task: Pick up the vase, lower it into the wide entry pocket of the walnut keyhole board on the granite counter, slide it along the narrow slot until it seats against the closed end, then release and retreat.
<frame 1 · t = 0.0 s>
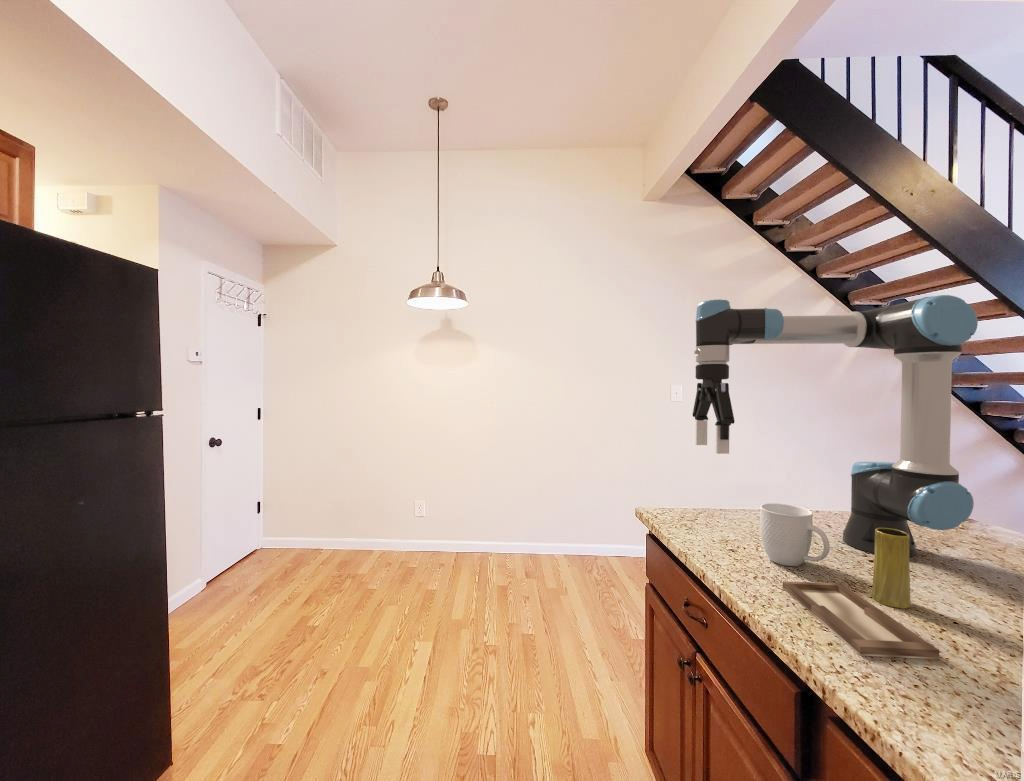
hand: (711, 449, 107), 28 cm above the countertop, fingers open, 13 cm apart
mug: (789, 563, 106), on the countertop
vase: (890, 602, 87), on the countertop
keyhole board: (849, 618, 81), on the countertop
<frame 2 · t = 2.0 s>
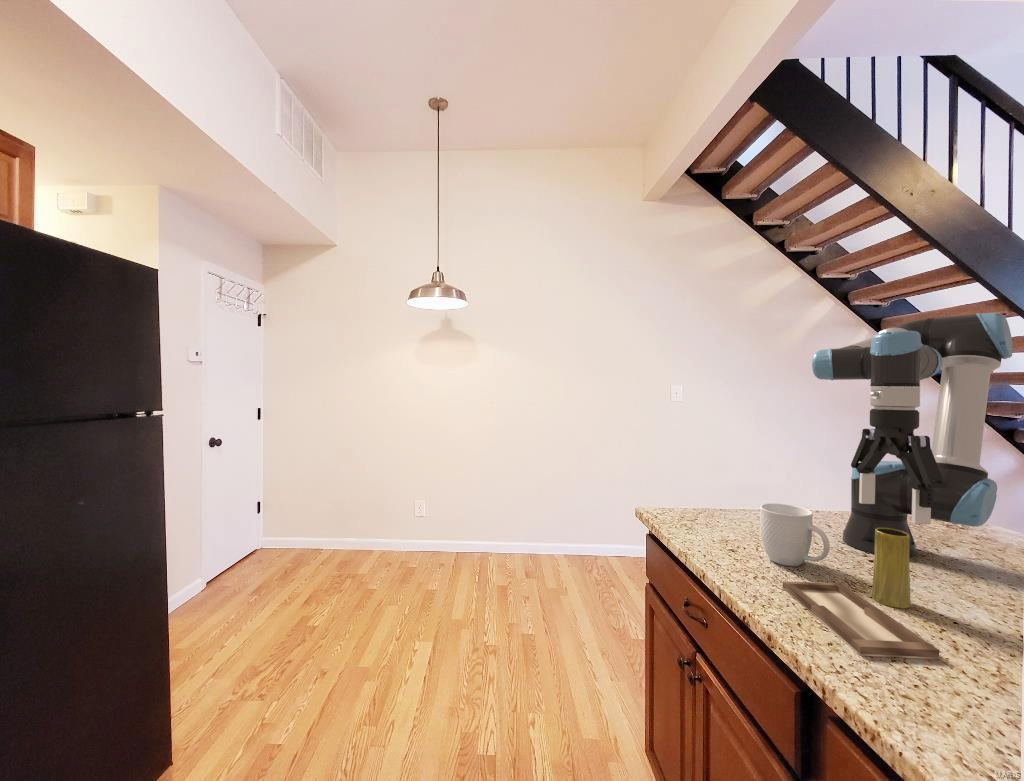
hand: (891, 512, 87), 18 cm above the countertop, fingers open, 13 cm apart
nothing on the countertop moved.
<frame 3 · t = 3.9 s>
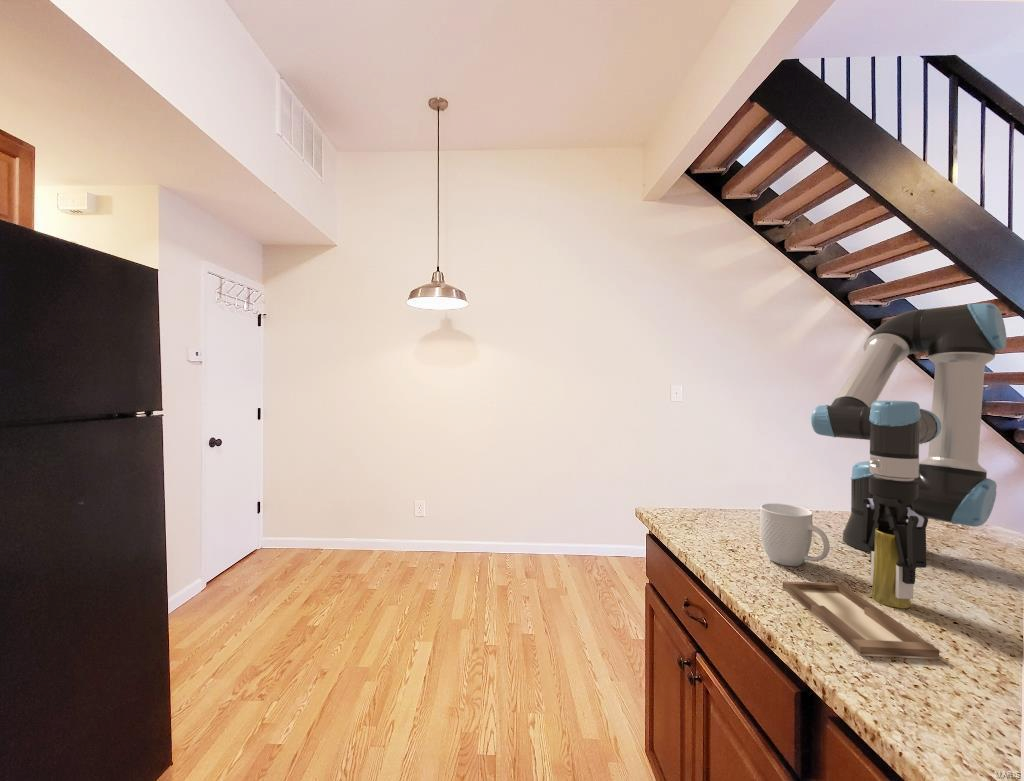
hand: (891, 589, 87), 2 cm above the countertop, fingers closed on vase, 6 cm apart
vase: (890, 602, 87), on the countertop, touching gripper
everything else where it was.
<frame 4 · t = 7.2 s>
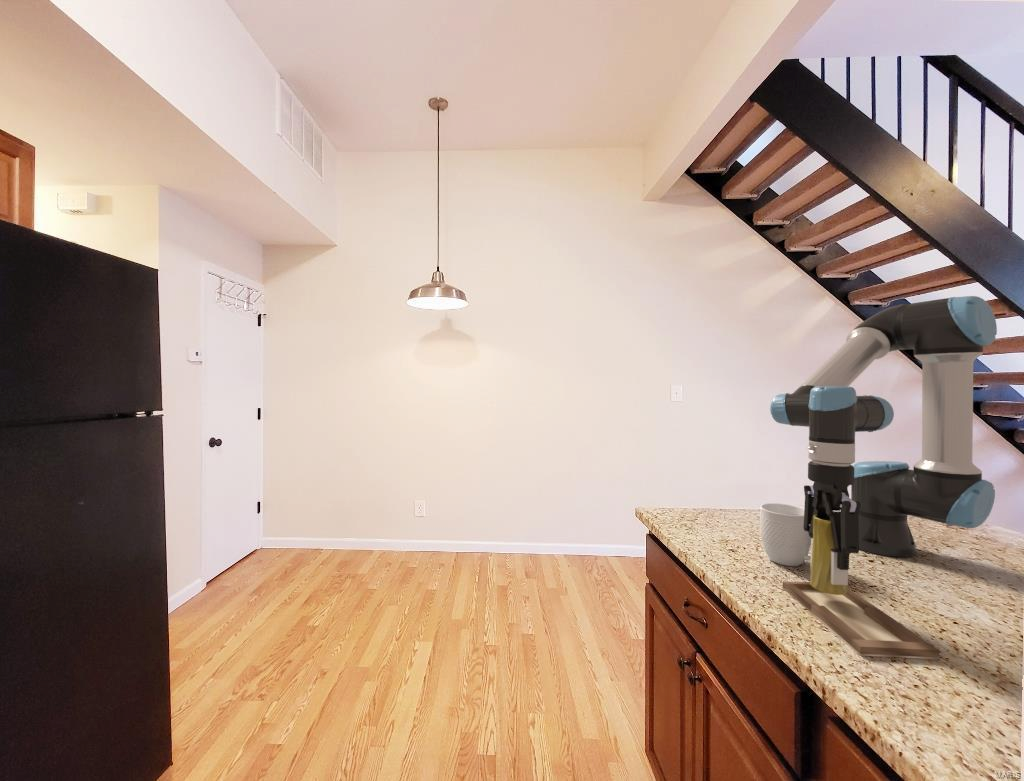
hand: (828, 576, 87), 5 cm above the countertop, fingers closed on vase, 6 cm apart
vase: (827, 588, 87), point 3 cm above the countertop, touching gripper
everything else where it was.
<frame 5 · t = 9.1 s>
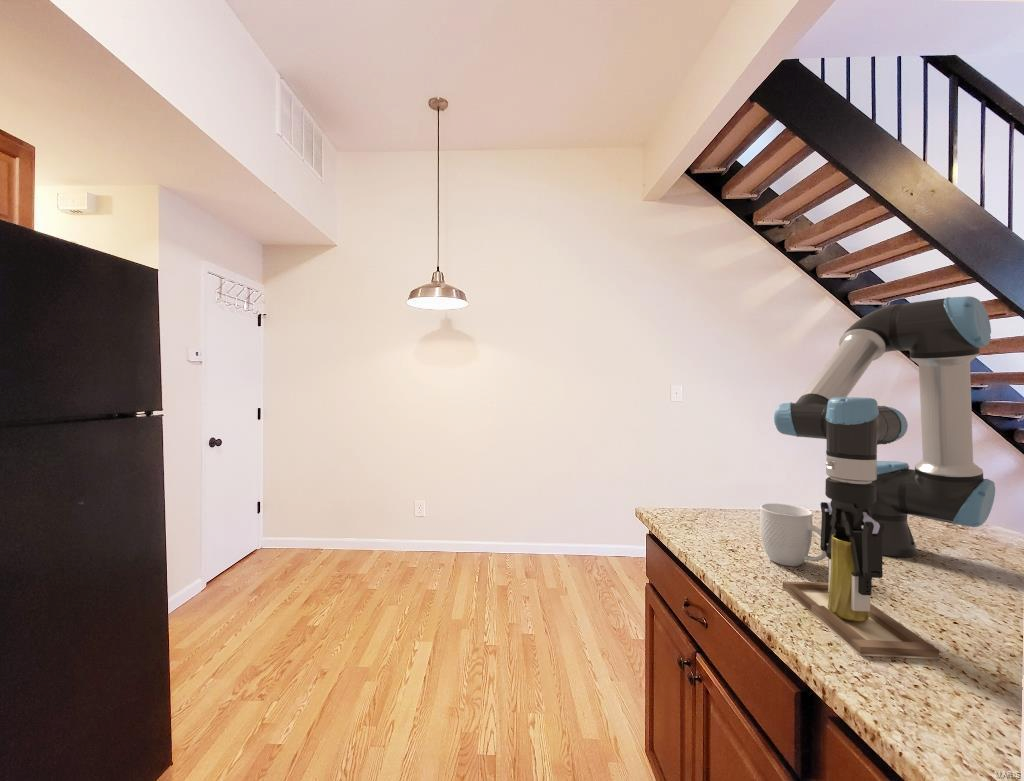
hand: (848, 600, 81), 3 cm above the countertop, fingers closed on vase, 6 cm apart
vase: (847, 614, 81), point 1 cm above the countertop, touching gripper
everything else where it was.
when the fingers open (3 cm above the countertop, at t = 10.8 s): vase stays where it is, resting on keyhole board.
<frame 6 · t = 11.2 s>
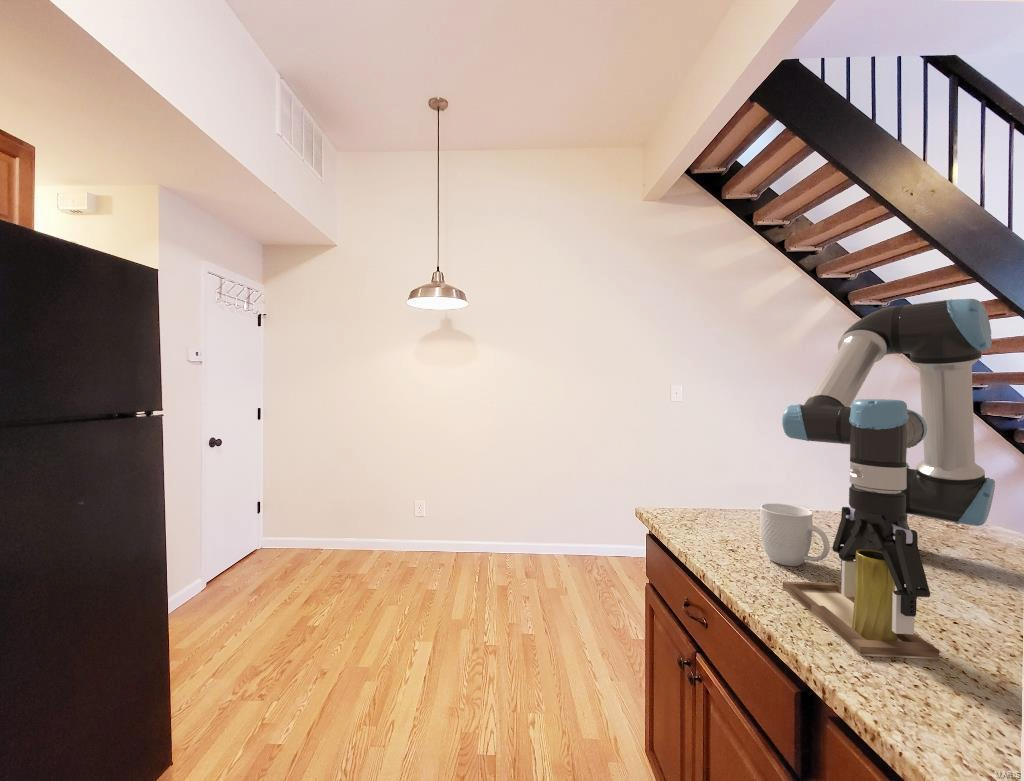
hand: (874, 612, 75), 4 cm above the countertop, fingers open, 11 cm apart
vase: (873, 636, 75), resting on keyhole board
everything else where it was.
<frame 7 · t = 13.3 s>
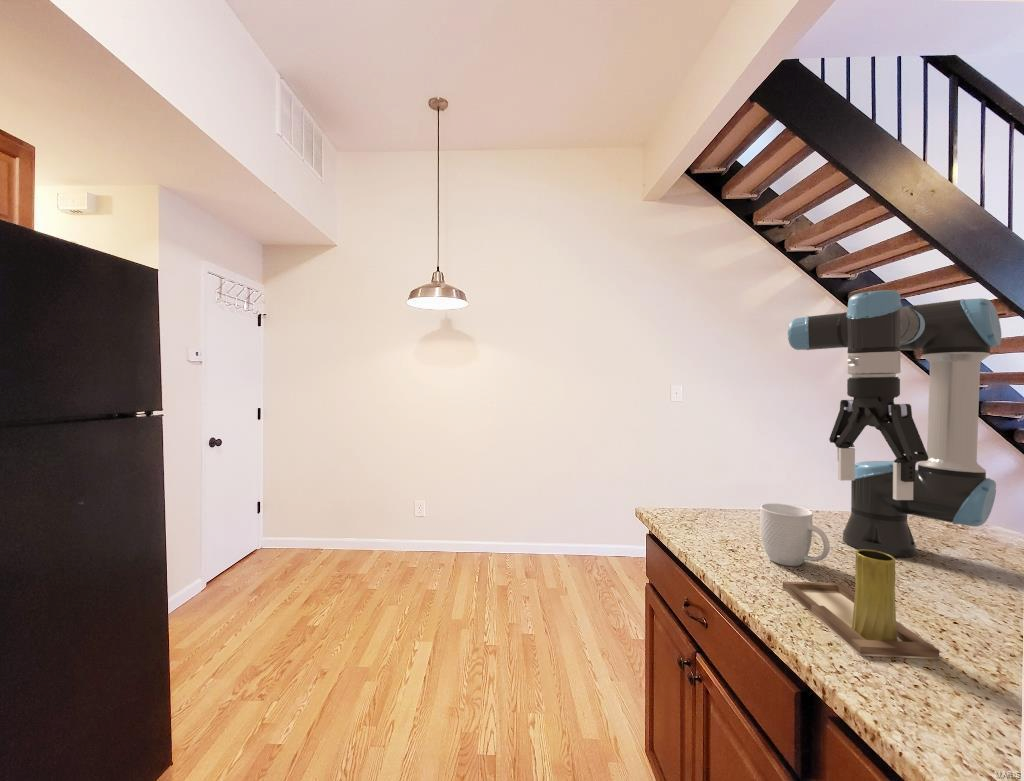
hand: (872, 489, 81), 25 cm above the countertop, fingers open, 13 cm apart
nothing on the countertop moved.
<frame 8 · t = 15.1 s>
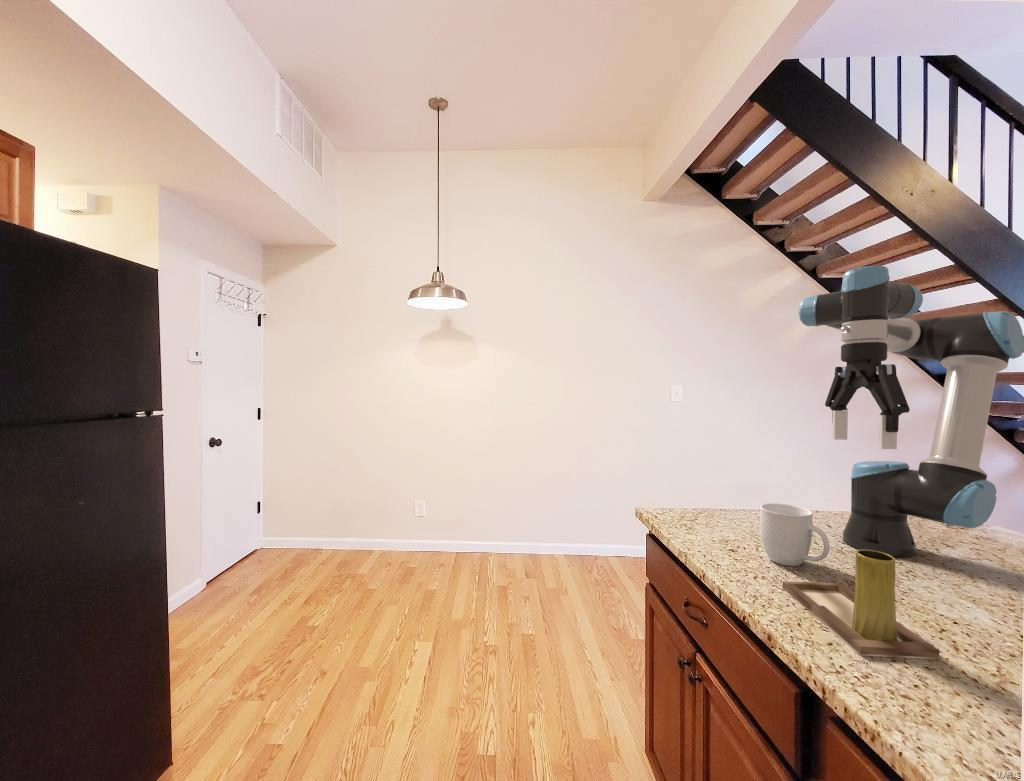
hand: (861, 443, 90), 32 cm above the countertop, fingers open, 13 cm apart
nothing on the countertop moved.
at the end: vase 0.0 cm from the target spot on the keyhole board, point 0.1 cm above the keyhole board's base; vase tilted 0°; the gripper is holding nothing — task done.
